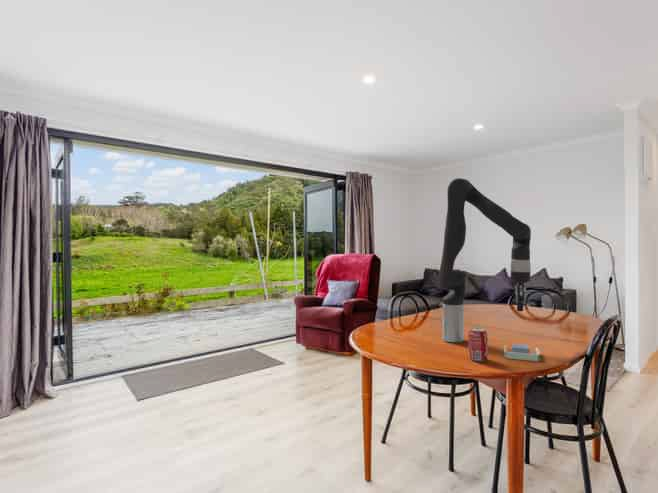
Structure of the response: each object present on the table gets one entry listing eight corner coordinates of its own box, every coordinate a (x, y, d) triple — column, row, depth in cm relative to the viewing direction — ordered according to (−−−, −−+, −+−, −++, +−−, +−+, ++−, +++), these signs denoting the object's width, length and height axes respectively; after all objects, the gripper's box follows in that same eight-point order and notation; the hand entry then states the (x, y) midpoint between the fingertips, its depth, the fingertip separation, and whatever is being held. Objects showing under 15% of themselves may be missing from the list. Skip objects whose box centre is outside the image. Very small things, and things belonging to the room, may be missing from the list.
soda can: (483, 356, 153) (482, 326, 153) (491, 362, 146) (490, 331, 146) (465, 357, 153) (465, 327, 153) (473, 362, 146) (472, 331, 146)
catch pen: (504, 358, 151) (504, 351, 151) (504, 350, 161) (504, 344, 161) (540, 361, 146) (540, 355, 145) (538, 353, 155) (537, 347, 155)
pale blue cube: (512, 357, 152) (512, 347, 152) (511, 353, 157) (511, 343, 157) (529, 359, 150) (529, 348, 150) (528, 354, 155) (527, 345, 155)
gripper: (531, 272, 153) (531, 314, 154) (529, 269, 165) (528, 308, 166) (511, 271, 156) (510, 313, 156) (509, 268, 168) (509, 307, 169)
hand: (520, 310), depth 161 cm, fingers closed
